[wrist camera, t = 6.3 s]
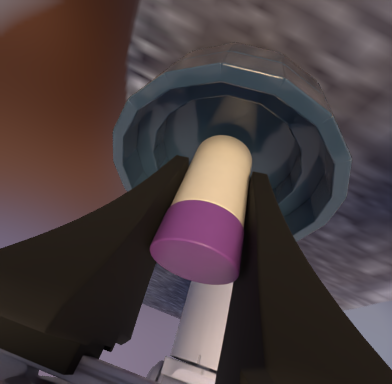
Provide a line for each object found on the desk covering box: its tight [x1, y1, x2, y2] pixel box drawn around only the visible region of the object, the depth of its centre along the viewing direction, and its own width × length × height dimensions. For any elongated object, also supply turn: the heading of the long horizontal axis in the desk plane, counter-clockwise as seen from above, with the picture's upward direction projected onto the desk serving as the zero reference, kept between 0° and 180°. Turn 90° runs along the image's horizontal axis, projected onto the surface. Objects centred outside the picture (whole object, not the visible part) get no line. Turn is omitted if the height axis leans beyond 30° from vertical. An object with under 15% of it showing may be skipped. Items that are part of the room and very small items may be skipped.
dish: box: [113, 42, 352, 242], centre depth 10 cm, size 10×10×4 cm
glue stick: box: [150, 135, 252, 285], centre depth 9 cm, size 3×3×6 cm
